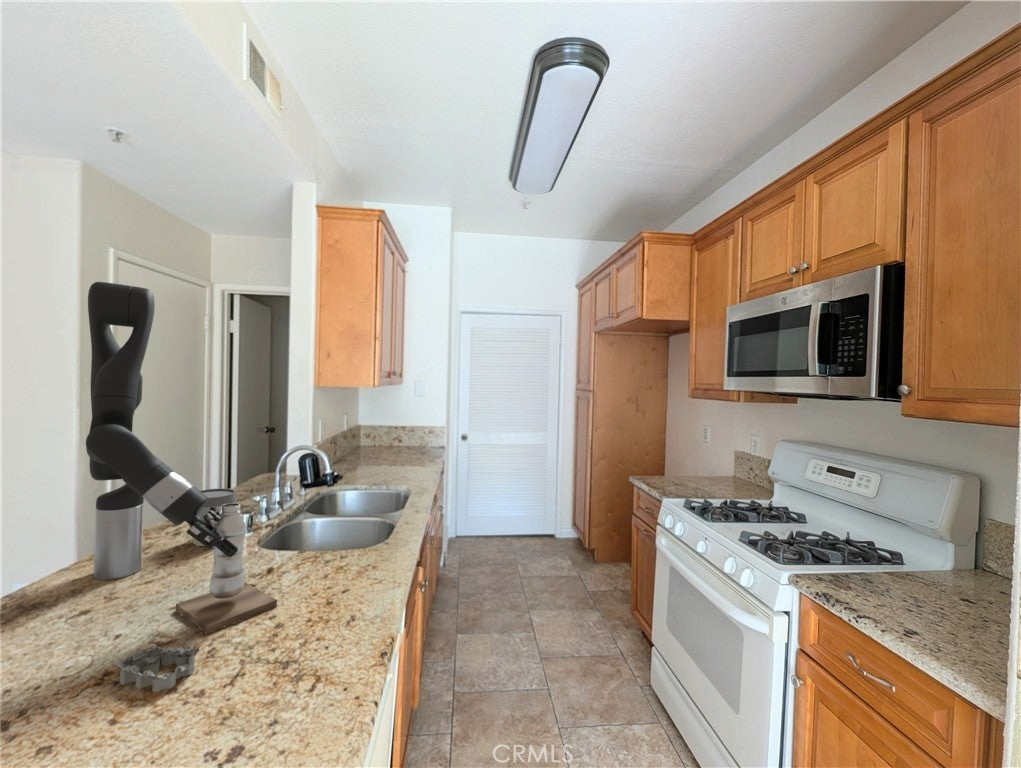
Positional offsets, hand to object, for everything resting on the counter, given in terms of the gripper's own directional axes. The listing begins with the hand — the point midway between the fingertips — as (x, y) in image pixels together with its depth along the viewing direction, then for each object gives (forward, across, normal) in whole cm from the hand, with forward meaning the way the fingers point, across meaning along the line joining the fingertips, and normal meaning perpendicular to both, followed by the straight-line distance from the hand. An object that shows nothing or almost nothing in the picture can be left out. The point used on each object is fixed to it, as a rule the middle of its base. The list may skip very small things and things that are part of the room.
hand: (237, 548), depth 99 cm
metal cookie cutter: (+4, -22, +15) cm, 27 cm away
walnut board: (+8, 0, +10) cm, 13 cm away
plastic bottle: (+6, 0, +9) cm, 11 cm away
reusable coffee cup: (-1, +47, +20) cm, 51 cm away
